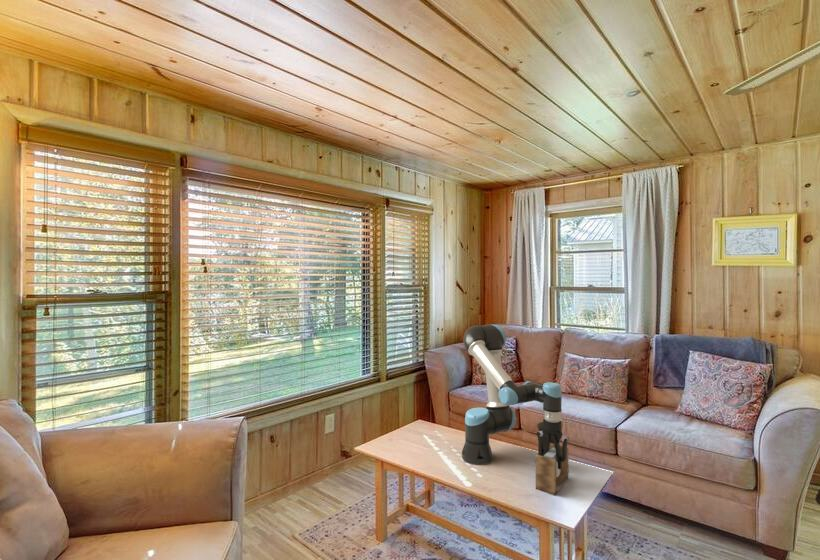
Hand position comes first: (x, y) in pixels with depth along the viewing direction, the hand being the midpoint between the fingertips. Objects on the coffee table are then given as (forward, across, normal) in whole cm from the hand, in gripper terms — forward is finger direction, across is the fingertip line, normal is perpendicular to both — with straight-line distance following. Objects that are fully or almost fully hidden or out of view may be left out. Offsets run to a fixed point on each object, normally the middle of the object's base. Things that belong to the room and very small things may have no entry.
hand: (552, 474), depth 175 cm
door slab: (+1, 0, 0) cm, 1 cm away
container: (+4, -8, +15) cm, 18 cm away
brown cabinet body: (+4, 0, 0) cm, 4 cm away
